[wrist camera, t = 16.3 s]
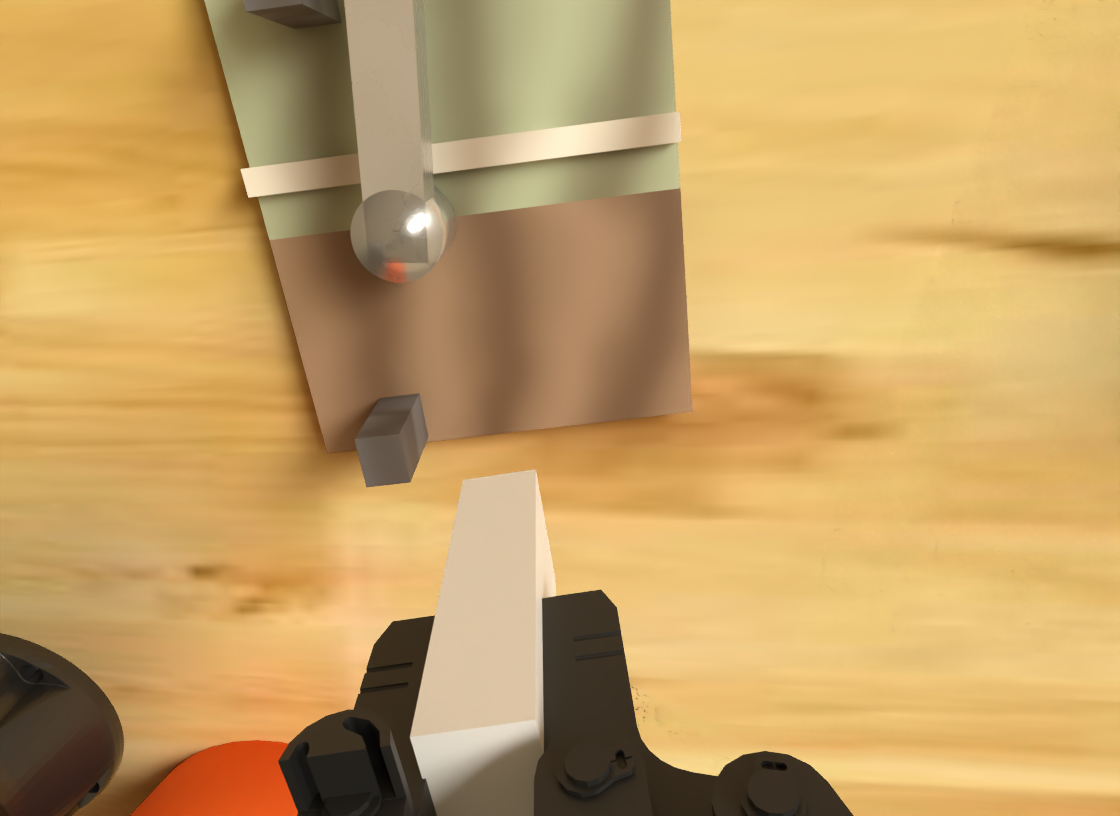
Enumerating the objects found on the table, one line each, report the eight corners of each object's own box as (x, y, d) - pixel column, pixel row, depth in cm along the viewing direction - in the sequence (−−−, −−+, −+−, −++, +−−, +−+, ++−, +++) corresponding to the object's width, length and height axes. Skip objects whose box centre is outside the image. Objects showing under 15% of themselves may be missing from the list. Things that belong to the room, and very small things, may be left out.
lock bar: (458, 262, 33) (444, 283, 28) (380, 261, 33) (354, 282, 28) (444, -63, 28) (424, -96, 24) (353, -64, 28) (316, -98, 24)
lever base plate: (335, 441, 38) (294, 501, 32) (211, -28, 30) (125, -65, 24) (687, 401, 37) (712, 454, 31) (659, -91, 29) (686, -147, 23)
